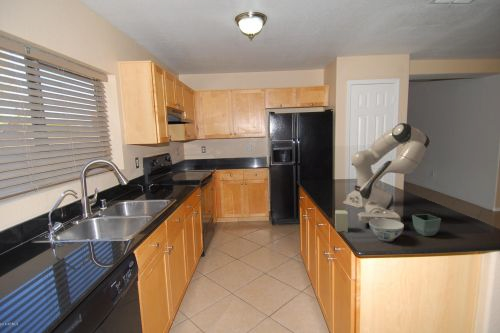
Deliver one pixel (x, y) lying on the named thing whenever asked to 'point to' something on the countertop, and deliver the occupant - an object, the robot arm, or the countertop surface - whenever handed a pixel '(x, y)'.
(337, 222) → the sage block
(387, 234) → the chinaware
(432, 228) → the flower pot
